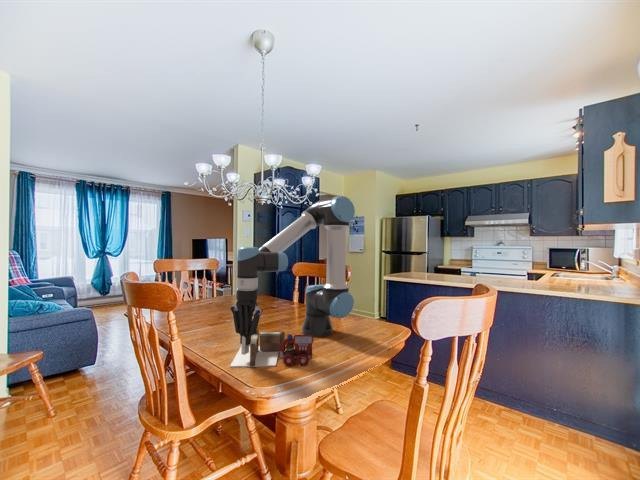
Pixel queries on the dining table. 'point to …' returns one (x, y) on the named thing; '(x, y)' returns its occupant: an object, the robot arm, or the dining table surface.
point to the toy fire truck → (297, 349)
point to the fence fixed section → (270, 340)
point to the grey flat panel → (253, 350)
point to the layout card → (261, 359)
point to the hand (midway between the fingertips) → (245, 353)
